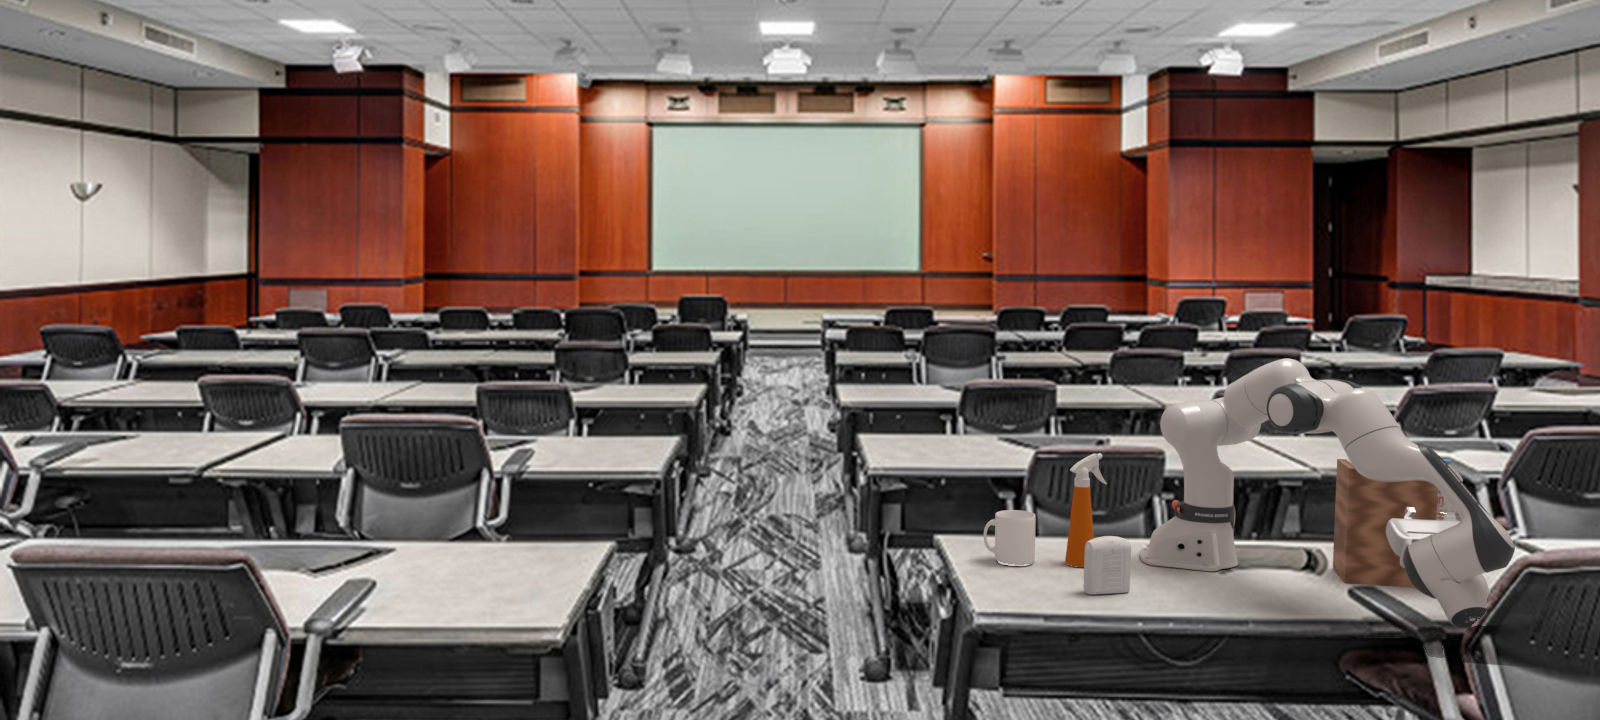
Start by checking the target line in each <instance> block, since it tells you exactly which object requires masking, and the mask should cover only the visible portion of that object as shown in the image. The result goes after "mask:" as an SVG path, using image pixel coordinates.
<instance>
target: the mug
mask: <svg viewBox="0 0 1600 720" xmlns="http://www.w3.org/2000/svg"><path fill="white" fill-rule="evenodd" d="M994 516H995V517H994V518H993V519H991V520H989V521H988V522H987V523H986V525H985V526H984V529H983V543H984V546H985V548H986V549H987V550H988V551H989V552H992V553H993V554H994V560H995V559H996V560H998V561H1000V562H1003V563H1008V564H1015V565H1024V564H1031V563H1033V562H1034V563H1035V559H1036V513H1034V512H1030V511H1027V510H1020V509H1019V510H1017V509H1007V510H1000V511H996V512H995V513H994ZM990 526H995V527H994V528H995V529H994V546H993V547H992V546H990V545H989V543H988V539H987V538H988V537H987V535H988V534H987V533H988V530H989V528H990ZM1034 563H1033V564H1034Z"/></svg>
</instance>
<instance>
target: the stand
mask: <svg viewBox="0 0 1600 720" xmlns="http://www.w3.org/2000/svg"><path fill="white" fill-rule="evenodd" d="M1345 459H1346V458H1337V459H1336V477H1335V478H1336V479H1335V481H1336V482H1335V502H1334V503H1335V506H1334V527H1333V528H1334V529H1333V549H1332V550H1333V553H1332V555H1333V558H1332V569H1333V571H1334V572H1335V573H1336V574H1337V576H1338V577H1339V578H1340V580H1342V582H1343V583H1344V584H1355V585H1357V584H1358V585H1371V584H1377V585H1376V586H1388V585H1389V586H1391V585H1395V586H1394V587H1405V586H1414V585H1413V584H1412V582H1411V581H1410V579H1409V577H1408V574H1407V572H1406V569H1405V568H1403V567H1402V566H1401V565H1400V557H1399V556H1398V555H1396V554H1395V553H1394V551H1393V550H1392V548H1391V546H1390V544H1389V541H1388V539H1387V536H1386V526H1387V523H1388V521H1389V520H1390V519H1392V518H1398V519H1404V516H1405V509H1406V507H1414V508H1415V509H1414V510H1415V511H1416V513H1415V517H1414V518H1412V519H1418V520H1436V519H1437V498H1438V488H1437V487H1436V486H1435V485H1434V484H1432V483H1430V482H1427V481H1403V482H1380V481H1374V480H1371V479H1368V478H1366V477H1364V476H1362V475H1361V474H1360V473H1358V471H1357V470H1356V469H1355V467H1354V466H1353V465H1351V464H1350V463H1349V462H1347V461H1346V460H1345ZM1389 586H1388V587H1389ZM1391 587H1392V586H1391Z"/></svg>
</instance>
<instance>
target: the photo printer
mask: <svg viewBox="0 0 1600 720" xmlns="http://www.w3.org/2000/svg"><path fill="white" fill-rule="evenodd" d="M1131 562H1132V546H1131V542H1130V540H1128V539H1127V538H1123V537H1120V536H1114V535H1104V536H1099V537H1094V539H1092V540H1089V541H1087V542H1086V544H1085V557H1084V568H1083V592H1084V593H1085V594H1087V595H1107V594H1122V593H1129V592H1130V589H1131Z"/></svg>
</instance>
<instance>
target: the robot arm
mask: <svg viewBox="0 0 1600 720" xmlns="http://www.w3.org/2000/svg"><path fill="white" fill-rule="evenodd" d="M1267 421H1269V422H1270V424H1271V425H1272V426H1273V427H1274V428H1275V429H1276V430H1277V431H1279V432H1283V433H1285V434H1290V435H1300V434H1323V433H1330V432H1333V433H1334V434H1335V435H1336V437H1337V438H1338V441H1339V442H1340V445H1341V446H1342V448H1343V450H1344V452H1345V455H1346V456H1347V459H1349V460H1350V461H1351V463H1352V465H1353V466H1354V467H1355V469H1356V470H1357V471H1358V473H1360V474H1361V475H1362V476H1364V477H1366V478H1368V479H1371V480H1374V481H1380V482H1403V481H1427V482H1430V483H1432V484H1434V485H1435V486H1436V487H1437V488H1438V489H1439V491H1440V492H1441V493H1442V494H1443V496H1444V497H1445V498H1446V499H1447V500H1448V502H1449V503H1450V504H1451V505H1452V507H1453V508H1454V509H1455V510H1456V512H1455V516H1456V519H1457V521H1439V520H1418V519H1412V518H1414V517H1415V513H1416V511H1415V510H1414V509H1415V508H1414V507H1406V509H1405V516H1404V519H1398V518H1392V519H1390V520H1389V521H1388V523H1387V526H1386V536H1387V539H1388V541H1389V544H1390V546H1391V548H1392V550H1393V551H1394V553H1395V554H1396V555H1398V556H1399V557H1400V565H1401V566H1402V567H1403V568H1405V569H1406V572H1407V574H1408V577H1409V579H1410V581H1411V582H1412V584H1413V585H1414V586H1415V587H1414V588H1415V589H1416V590H1417V591H1419V592H1420V593H1421V594H1424V595H1425V596H1427V597H1429V598H1432V599H1435V600H1437V601H1438V603H1439V606H1441V609H1442V611H1443V612H1444V615H1445V617H1446V618H1447V619H1448V621H1449V623H1450V624H1451V625H1452V626H1454V627H1457V628H1461V629H1471V628H1470V627H1471V626H1472V624H1474V623H1476V621H1477V619H1480V618H1481V617H1482V616H1483V615H1484V614H1485V612H1486V610H1487V606H1486V602H1487V598H1488V595H1489V593H1490V594H1491V591H1490V588H1489V585H1488V582H1487V579H1486V577H1484V575H1483V574H1485V573H1491V572H1494V571H1498V570H1501V569H1505V568H1507V567H1508V565H1509V564H1510V563H1511V561H1512V559H1513V556H1514V555H1515V554H1514V553H1515V550H1516V549H1515V548H1516V547H1515V544H1514V541H1513V539H1512V538H1511V536H1510V534H1509V532H1508V531H1507V530H1506V529H1505V527H1503V526H1502V525H1501V523H1499V522H1498V521H1497V520H1496V519H1495V518H1493V516H1492V515H1491V514H1490V513H1489V512H1488V511H1487V510H1486V508H1484V506H1483V505H1482V504H1481V502H1480V501H1479V500H1478V499H1477V497H1475V496H1474V494H1473V493H1472V492H1471V490H1470V489H1469V488H1468V487H1467V486H1466V485H1465V484H1464V482H1462V481H1461V480H1460V479H1459V477H1458V476H1457V475H1456V474H1455V473H1454V472H1453V470H1452V469H1451V468H1450V467H1449V466H1448V465H1447V464H1446V463H1445V461H1444V459H1443V458H1442V457H1441V456H1440V455H1439V454H1438V453H1437V452H1436V451H1435V450H1434V449H1432V448H1431V447H1429V446H1427V444H1426V445H1425V444H1424V445H1423V444H1422V445H1420V444H1416V443H1414V442H1413V441H1411V440H1410V439H1409V438H1408V437H1407V436H1406V435H1405V434H1404V433H1403V431H1402V429H1401V427H1400V426H1399V424H1398V422H1397V421H1396V419H1395V418H1394V416H1393V414H1392V413H1391V411H1390V410H1389V408H1387V406H1386V405H1385V404H1384V402H1383V401H1382V400H1381V398H1379V396H1378V395H1377V394H1376V393H1375V392H1373V391H1372V390H1370V389H1369V388H1364V387H1362V386H1361V385H1359V384H1358V383H1355V382H1353V381H1350V380H1346V379H1339V378H1332V377H1324V378H1322V379H1315V378H1313V377H1312V376H1311V375H1310V372H1309V370H1308V369H1307V367H1306V366H1305V365H1304V364H1303V363H1301V362H1300V361H1298V360H1296V359H1295V358H1294V359H1292V358H1289V357H1288V358H1285V357H1284V358H1281V359H1280V358H1279V359H1277V360H1274V361H1271V362H1268V363H1266V364H1264V365H1262V366H1259V367H1256V368H1255V369H1252V371H1250V372H1249V373H1247V374H1245V375H1243V376H1241V377H1240V378H1238V379H1237V380H1235V381H1233V382H1231V383H1230V384H1228V385H1227V386H1226V388H1225V390H1224V393H1223V396H1222V397H1218V398H1217V397H1216V398H1214V399H1206V400H1205V399H1203V400H1189V401H1188V400H1187V401H1182V402H1179V403H1175V404H1173V405H1169V406H1168V407H1167V408H1165V409H1164V411H1163V413H1162V414H1161V417H1160V421H1159V422H1160V424H1159V425H1160V426H1159V427H1160V432H1161V434H1162V436H1163V438H1164V439H1165V441H1166V442H1167V443H1168V444H1169V445H1170V446H1172V447H1173V449H1175V451H1176V453H1177V454H1178V457H1179V458H1180V461H1181V464H1182V469H1183V482H1184V483H1183V486H1184V487H1183V488H1184V489H1183V492H1184V493H1183V494H1184V495H1183V500H1182V501H1179V500H1177V499H1174V500H1173V501H1171V506H1172V508H1173V509H1174V516H1173V517H1172V518H1171V519H1169V520H1168V521H1166V522H1164V523H1163V524H1161V525H1159V526H1158V527H1157V528H1155V529H1154V530H1153V532H1152V534H1151V536H1150V540H1149V545H1148V546H1146V547H1144V548H1141V549H1140V551H1139V560H1140V561H1142V562H1143V563H1144V564H1146V565H1149V566H1155V567H1156V566H1157V567H1166V568H1167V567H1168V568H1175V569H1176V568H1177V569H1187V570H1193V571H1195V570H1196V571H1203V572H1205V571H1206V572H1217V571H1220V570H1222V569H1224V570H1225V569H1229V568H1234V567H1237V566H1238V565H1239V560H1238V557H1237V552H1236V545H1235V535H1234V528H1235V524H1236V509H1235V508H1236V506H1235V504H1234V485H1235V484H1234V483H1235V482H1234V481H1235V475H1234V472H1233V470H1232V469H1231V468H1230V466H1228V465H1227V464H1225V463H1223V462H1222V461H1221V459H1220V457H1219V453H1218V446H1219V447H1221V446H1233V445H1238V444H1242V443H1245V442H1247V441H1248V442H1249V441H1250V440H1253V439H1254V438H1256V437H1257V436H1258V434H1259V433H1260V430H1261V427H1262V424H1263V423H1265V422H1267ZM1460 521H1461V522H1460Z"/></svg>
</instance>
